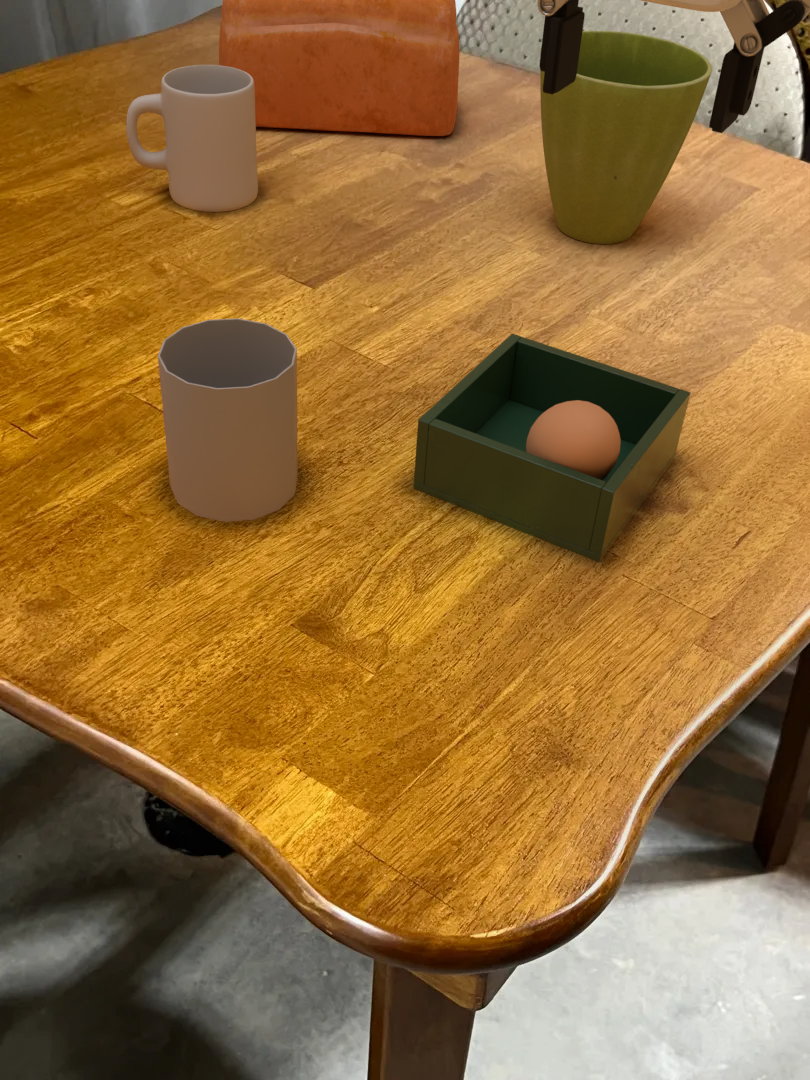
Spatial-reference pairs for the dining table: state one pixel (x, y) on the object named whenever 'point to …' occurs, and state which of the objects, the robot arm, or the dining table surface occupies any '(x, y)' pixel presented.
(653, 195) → the flower pot
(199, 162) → the mug
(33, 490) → the dining table surface
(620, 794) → the dining table surface
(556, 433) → the egg
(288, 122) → the bread
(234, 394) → the cup
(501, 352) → the dark green open crate
